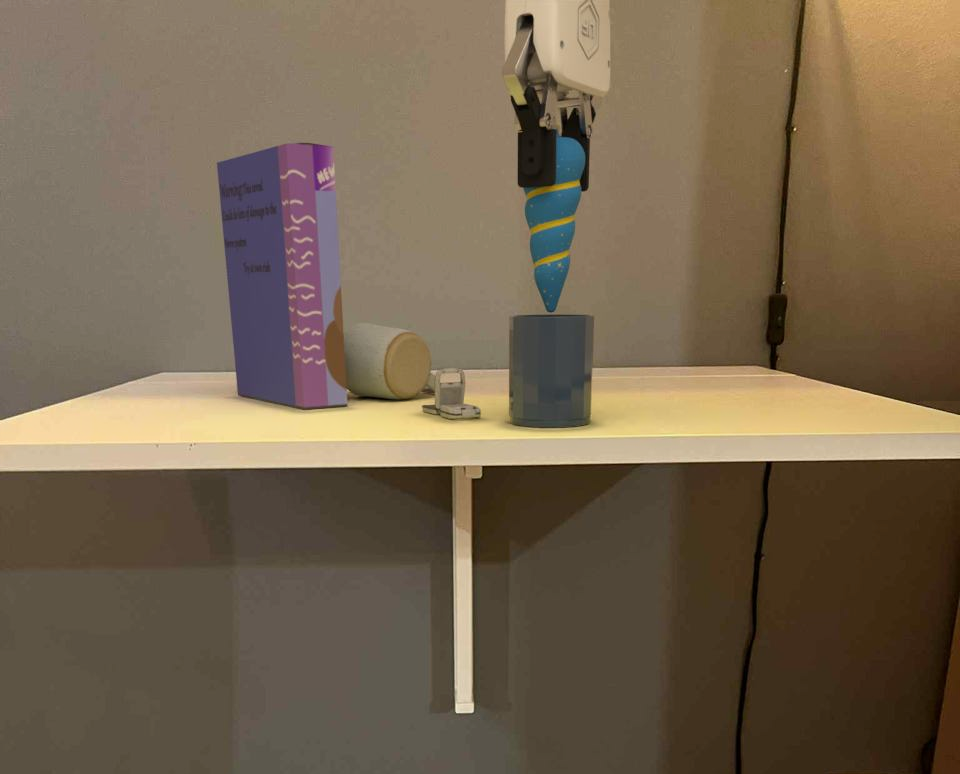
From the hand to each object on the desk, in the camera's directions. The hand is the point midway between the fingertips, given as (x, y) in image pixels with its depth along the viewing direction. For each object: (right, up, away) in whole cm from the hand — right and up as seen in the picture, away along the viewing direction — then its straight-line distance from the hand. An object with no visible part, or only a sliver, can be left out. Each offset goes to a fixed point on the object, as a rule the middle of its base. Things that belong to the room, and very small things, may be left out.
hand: (553, 186), depth 81 cm
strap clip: (-9, -16, +12) cm, 22 cm away
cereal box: (-27, -12, +25) cm, 38 cm away
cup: (0, -18, +7) cm, 19 cm away
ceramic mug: (-16, -11, +27) cm, 33 cm away
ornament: (0, -9, +3) cm, 10 cm away
